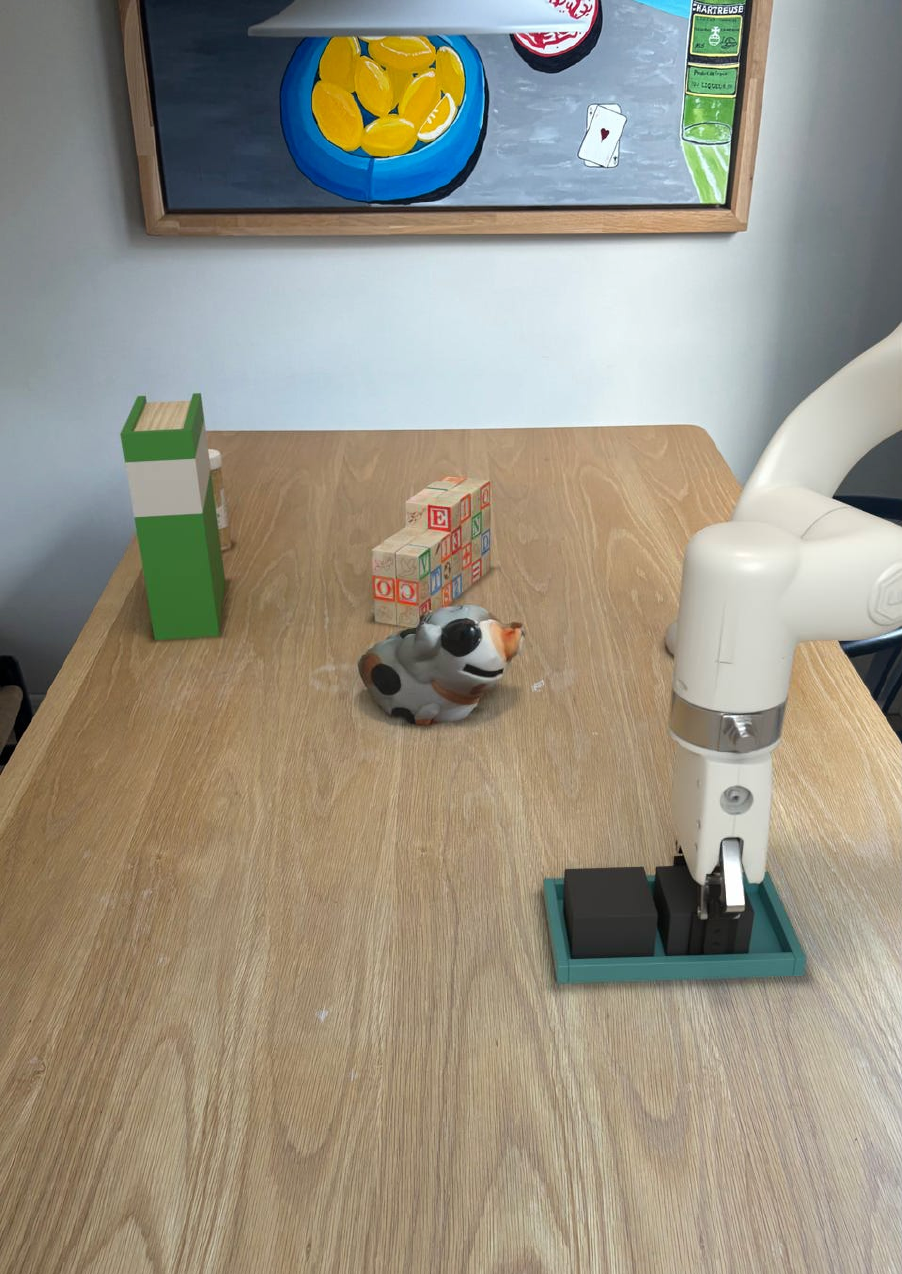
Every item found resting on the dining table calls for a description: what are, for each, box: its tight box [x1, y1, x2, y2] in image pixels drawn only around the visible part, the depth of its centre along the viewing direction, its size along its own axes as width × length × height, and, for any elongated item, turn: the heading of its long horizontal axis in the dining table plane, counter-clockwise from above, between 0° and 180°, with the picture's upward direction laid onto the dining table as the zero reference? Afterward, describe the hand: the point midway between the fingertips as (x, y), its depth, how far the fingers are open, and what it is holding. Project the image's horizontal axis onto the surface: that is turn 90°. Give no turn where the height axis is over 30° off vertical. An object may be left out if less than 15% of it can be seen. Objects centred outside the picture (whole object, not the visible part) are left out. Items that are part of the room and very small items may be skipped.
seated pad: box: [563, 866, 658, 959], centre depth 85 cm, size 6×6×4 cm
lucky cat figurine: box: [357, 603, 527, 727], centre depth 116 cm, size 15×12×14 cm
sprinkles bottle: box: [208, 448, 232, 552], centre depth 158 cm, size 5×5×14 cm
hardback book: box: [119, 392, 226, 641], centre depth 136 cm, size 18×7×24 cm, turn 7°
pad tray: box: [542, 871, 808, 984], centre depth 86 cm, size 18×11×2 cm, turn 91°
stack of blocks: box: [371, 475, 492, 629], centre depth 142 cm, size 21×6×12 cm, turn 155°
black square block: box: [653, 865, 755, 956], centre depth 85 cm, size 6×6×4 cm
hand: (700, 925), depth 86 cm, fingers closed on black square block, 6 cm apart
